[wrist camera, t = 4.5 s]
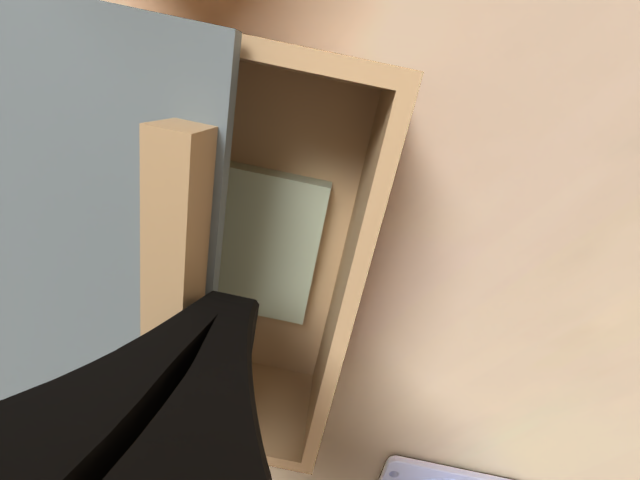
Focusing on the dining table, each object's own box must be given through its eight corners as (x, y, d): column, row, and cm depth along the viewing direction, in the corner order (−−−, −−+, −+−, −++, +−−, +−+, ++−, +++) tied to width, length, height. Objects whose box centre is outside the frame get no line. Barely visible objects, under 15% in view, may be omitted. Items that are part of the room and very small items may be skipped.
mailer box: (321, 377, 18) (312, 474, 14) (-10, 308, 18) (-132, 382, 14) (397, 77, 13) (423, 71, 8) (-75, -22, 13) (-316, -84, 8)
